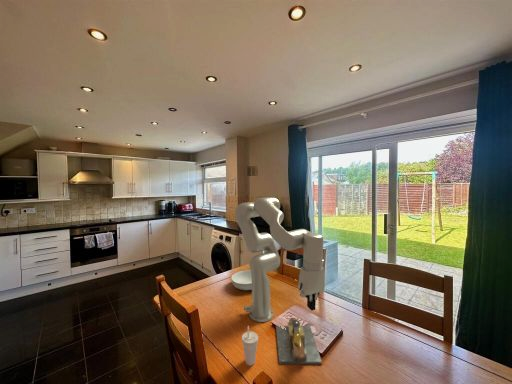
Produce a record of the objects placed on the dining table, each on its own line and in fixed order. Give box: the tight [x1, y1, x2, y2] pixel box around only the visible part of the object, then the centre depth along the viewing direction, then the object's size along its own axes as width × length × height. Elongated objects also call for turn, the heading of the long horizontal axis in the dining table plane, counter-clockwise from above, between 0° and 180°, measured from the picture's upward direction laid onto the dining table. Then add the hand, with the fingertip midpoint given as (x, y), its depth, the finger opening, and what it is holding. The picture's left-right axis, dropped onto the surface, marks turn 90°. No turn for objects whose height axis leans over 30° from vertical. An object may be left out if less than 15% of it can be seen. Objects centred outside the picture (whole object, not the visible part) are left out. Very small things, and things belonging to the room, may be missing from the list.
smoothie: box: [241, 325, 259, 366], centre depth 80 cm, size 6×6×14 cm
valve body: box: [275, 317, 323, 365], centre depth 89 cm, size 16×20×6 cm
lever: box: [292, 319, 301, 347], centre depth 84 cm, size 12×3×5 cm, turn 172°
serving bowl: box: [230, 269, 252, 291], centre depth 140 cm, size 21×21×7 cm
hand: (311, 308), depth 85 cm, fingers closed
